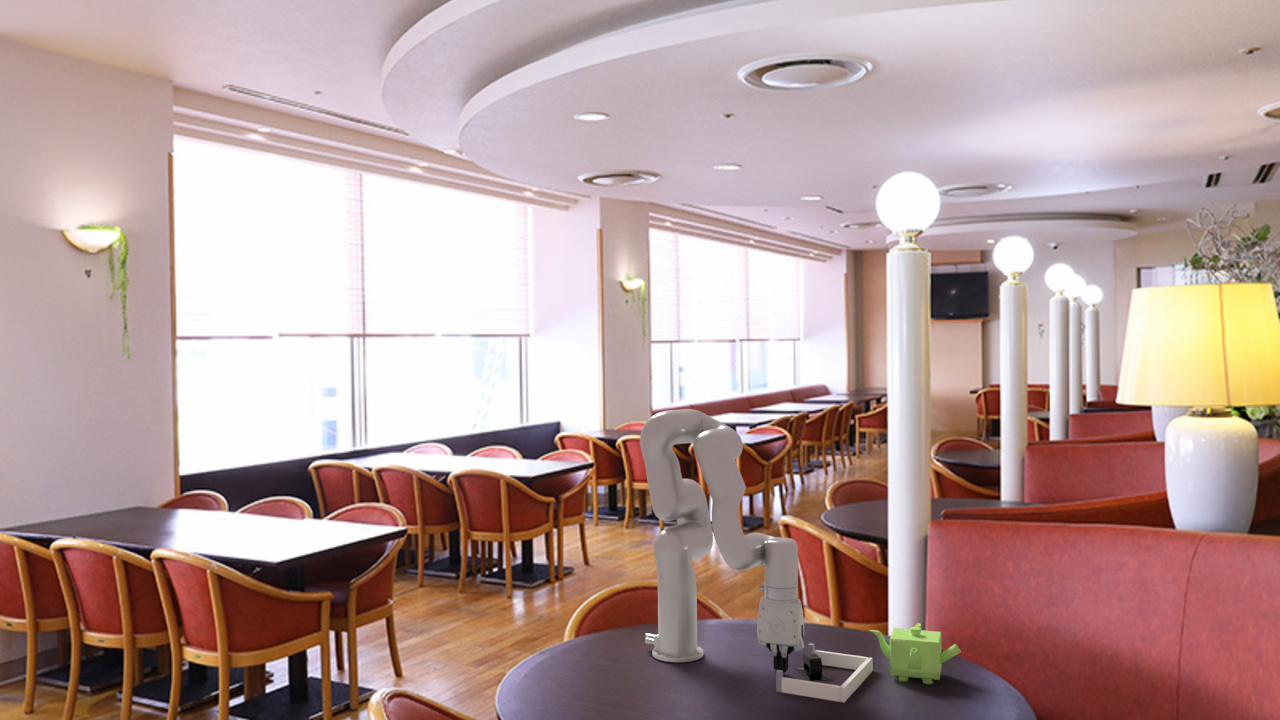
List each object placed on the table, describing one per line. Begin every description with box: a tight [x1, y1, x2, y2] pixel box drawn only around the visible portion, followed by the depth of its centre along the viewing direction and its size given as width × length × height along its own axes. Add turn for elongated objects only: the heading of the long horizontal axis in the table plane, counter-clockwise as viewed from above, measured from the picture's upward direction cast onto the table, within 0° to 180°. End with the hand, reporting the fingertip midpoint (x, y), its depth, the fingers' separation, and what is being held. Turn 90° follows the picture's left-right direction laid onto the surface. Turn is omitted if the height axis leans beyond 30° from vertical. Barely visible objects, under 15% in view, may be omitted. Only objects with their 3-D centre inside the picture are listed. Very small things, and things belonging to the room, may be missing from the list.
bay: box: [775, 643, 874, 703], centre depth 215 cm, size 15×23×4 cm, turn 152°
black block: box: [794, 653, 833, 682], centre depth 220 cm, size 12×7×5 cm, turn 11°
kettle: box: [869, 622, 962, 685], centre depth 216 cm, size 15×14×11 cm
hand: (780, 672), depth 219 cm, fingers closed
